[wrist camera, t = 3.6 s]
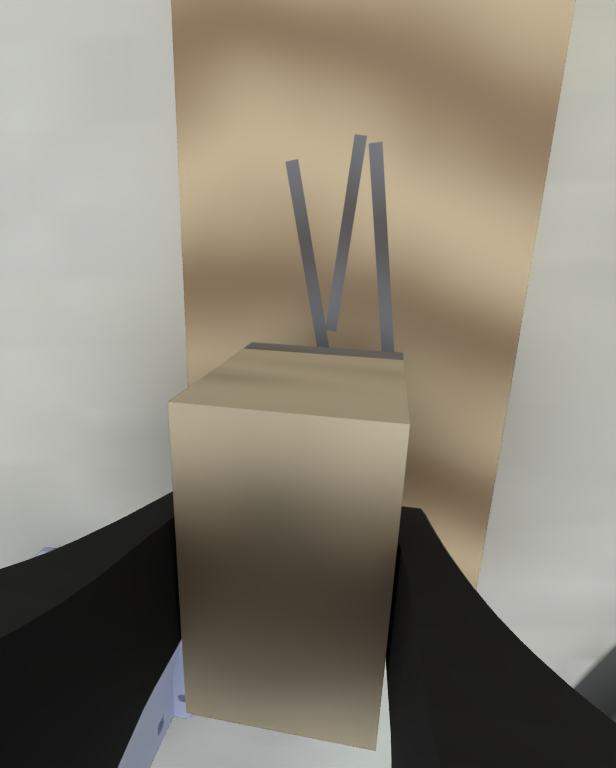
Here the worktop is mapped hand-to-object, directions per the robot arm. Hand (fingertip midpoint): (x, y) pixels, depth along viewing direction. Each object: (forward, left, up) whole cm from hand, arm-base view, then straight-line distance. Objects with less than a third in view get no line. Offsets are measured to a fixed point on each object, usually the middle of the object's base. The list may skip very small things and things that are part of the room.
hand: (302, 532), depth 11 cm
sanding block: (0, 0, -3) cm, 3 cm away
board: (+4, 0, -9) cm, 10 cm away
